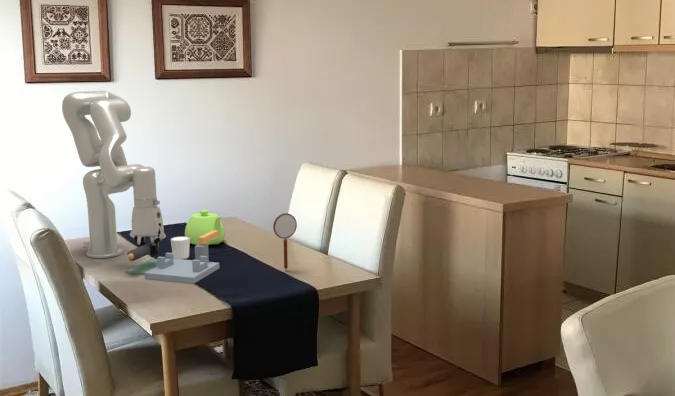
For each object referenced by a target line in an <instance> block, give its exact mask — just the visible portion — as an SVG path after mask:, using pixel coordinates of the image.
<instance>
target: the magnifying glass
mask: <svg viewBox="0 0 675 396" xmlns="http://www.w3.org/2000/svg"><path fill="white" fill-rule="evenodd" d="M272 226H273V227H272V228H273V232H274V235H276V237H278V238H280V239H283V268H284V271H285V272H287V271H288V266H289V265H288V263H289V262H288V239H289V238H290V237H292V236H293V235H294V234H295V232H296V231H297V227H298V225H297V220H296V218H295V216H294V215H292V214H290V213H286V212H285V213H281V214H280V215H279V214H278V216H277V217H276V218H275V219H274V222H273V225H272Z"/></svg>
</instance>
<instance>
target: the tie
mask: <svg viewBox="0 0 675 396" xmlns="http://www.w3.org/2000/svg"><path fill="white" fill-rule="evenodd" d="M218 237H219V234H218V231H217V230H213V231H211V232H209V233H206V234H204V235H202V236H200V237H198V240H199V244H202V245H204V244H206V243H208V242H210V241H212V240H214V239H216V238H218Z"/></svg>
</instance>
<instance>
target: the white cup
mask: <svg viewBox="0 0 675 396" xmlns="http://www.w3.org/2000/svg"><path fill="white" fill-rule="evenodd" d="M190 244H191V243H190V238H189V237H185V236H173V237H171V238H170V245H171V253H173V259H183V260H187V259H189V258H190V247H191V246H190Z"/></svg>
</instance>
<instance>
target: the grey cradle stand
mask: <svg viewBox="0 0 675 396" xmlns="http://www.w3.org/2000/svg"><path fill="white" fill-rule="evenodd" d="M209 256H210V255H209V245H208V244H204V245H202V244H198V245H195V246H194V259H192V260H191V259H174V258H173V253H172V252H166V253H165V256H157V258H156V259H157V262H158V266H157V267H155V268H153V269H151V270H149V271H147V272H146V273H145V275H144V279H145V280H152V281H153V280H156V281H166V282H173V283H185V284H192V285H193V284H196V283H197V282H199V281H200V280H202V279H205V278H206V277H208V276H209V275H211V274H213V273H214V272H216V271H217V270H220V262H214V261H210V260H209V258H210V257H209Z"/></svg>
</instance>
